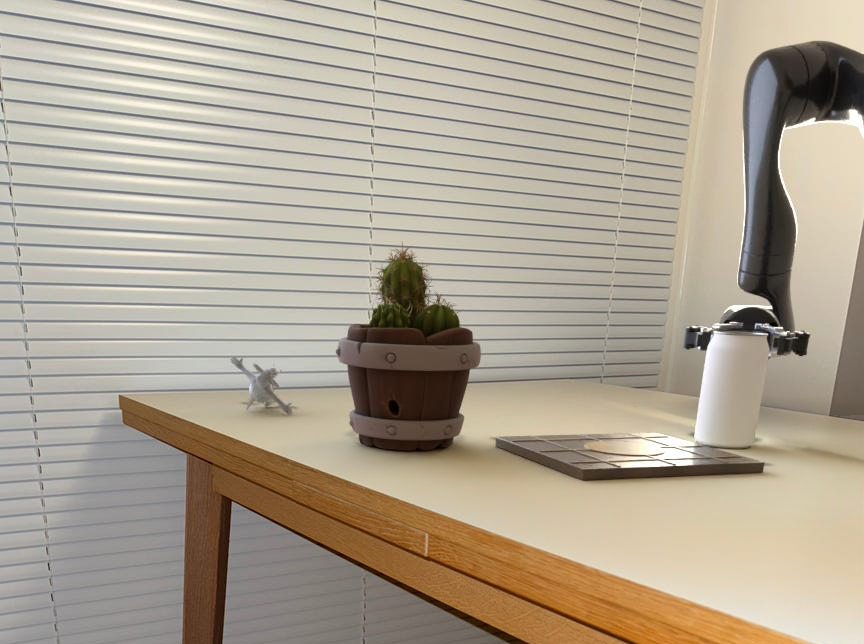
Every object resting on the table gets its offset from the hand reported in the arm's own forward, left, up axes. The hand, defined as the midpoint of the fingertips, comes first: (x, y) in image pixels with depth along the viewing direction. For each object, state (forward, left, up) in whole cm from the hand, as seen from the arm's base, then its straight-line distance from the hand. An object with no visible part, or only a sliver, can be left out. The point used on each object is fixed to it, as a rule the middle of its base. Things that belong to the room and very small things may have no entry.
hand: (742, 343), depth 112 cm
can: (+6, +6, -11) cm, 14 cm away
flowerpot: (+42, 0, -11) cm, 43 cm away
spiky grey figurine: (+52, -26, -11) cm, 59 cm away
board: (+23, +12, -10) cm, 28 cm away
